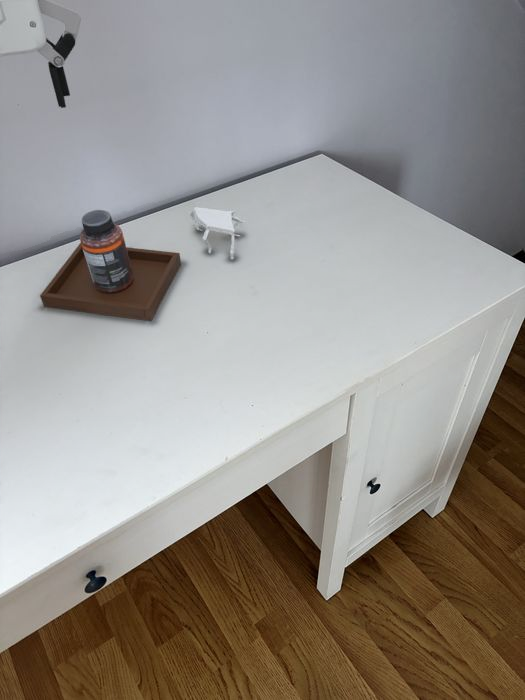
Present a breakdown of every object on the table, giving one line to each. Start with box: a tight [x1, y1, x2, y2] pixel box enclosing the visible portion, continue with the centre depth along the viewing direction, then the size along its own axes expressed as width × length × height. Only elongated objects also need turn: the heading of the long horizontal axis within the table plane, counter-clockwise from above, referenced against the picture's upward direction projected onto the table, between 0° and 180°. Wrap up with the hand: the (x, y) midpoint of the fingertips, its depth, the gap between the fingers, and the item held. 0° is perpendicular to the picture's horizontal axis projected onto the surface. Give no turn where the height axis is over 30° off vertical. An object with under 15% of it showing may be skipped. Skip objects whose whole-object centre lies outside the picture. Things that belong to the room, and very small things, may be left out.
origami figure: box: [189, 206, 245, 260], centre depth 92 cm, size 12×8×5 cm
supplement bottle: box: [79, 209, 133, 293], centre depth 81 cm, size 6×6×11 cm
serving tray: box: [39, 242, 182, 322], centre depth 85 cm, size 17×14×2 cm
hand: (16, 109), depth 60 cm, fingers open, 9 cm apart
